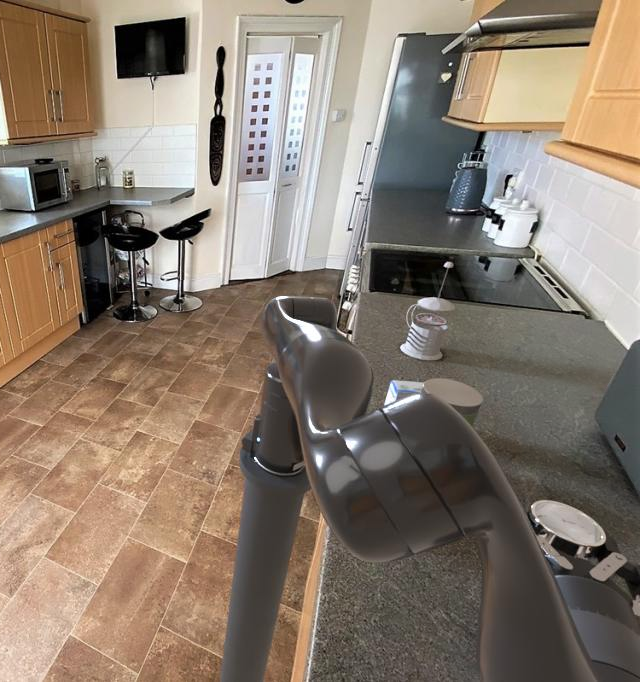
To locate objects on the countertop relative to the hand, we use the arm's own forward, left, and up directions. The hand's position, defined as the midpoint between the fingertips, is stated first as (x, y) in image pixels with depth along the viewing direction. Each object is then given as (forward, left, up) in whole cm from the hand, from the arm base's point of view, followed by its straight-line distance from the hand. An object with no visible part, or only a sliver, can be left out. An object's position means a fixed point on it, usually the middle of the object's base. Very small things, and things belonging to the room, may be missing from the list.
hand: (556, 520), depth 54 cm
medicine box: (-21, +30, -13) cm, 39 cm away
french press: (-26, +66, -13) cm, 72 cm away
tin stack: (-15, +19, -13) cm, 27 cm away
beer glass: (0, -2, -13) cm, 13 cm away
